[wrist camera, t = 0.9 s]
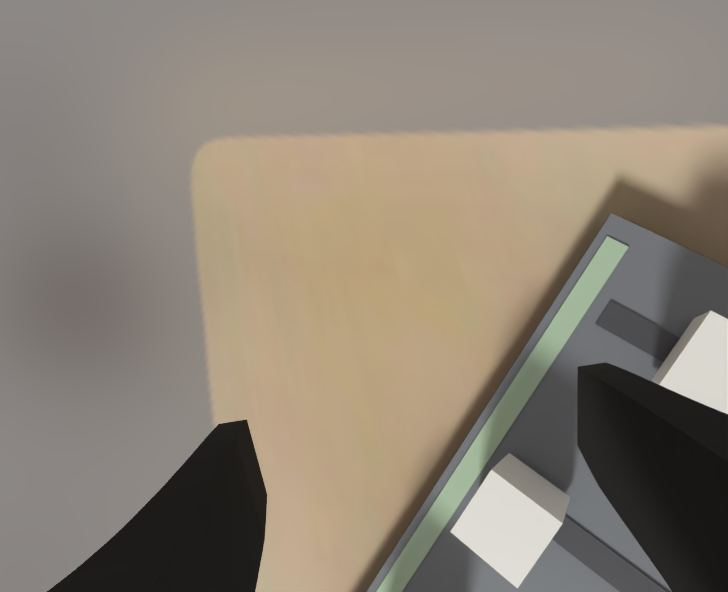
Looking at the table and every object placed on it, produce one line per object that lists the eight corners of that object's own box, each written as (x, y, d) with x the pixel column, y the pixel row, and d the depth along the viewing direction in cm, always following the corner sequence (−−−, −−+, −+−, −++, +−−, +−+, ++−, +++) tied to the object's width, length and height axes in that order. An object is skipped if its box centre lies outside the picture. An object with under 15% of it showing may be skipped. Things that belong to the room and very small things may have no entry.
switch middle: (570, 497, 22) (562, 523, 19) (531, 552, 23) (517, 588, 19) (509, 452, 24) (491, 469, 20) (474, 506, 24) (450, 531, 21)
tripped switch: (773, 360, 20) (809, 360, 16) (726, 424, 20) (752, 438, 17) (693, 318, 21) (710, 310, 18) (651, 380, 22) (659, 384, 18)
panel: (937, 378, 20) (971, 380, 18) (557, 866, 23) (553, 910, 21) (611, 223, 25) (611, 212, 23) (342, 638, 29) (323, 658, 27)
